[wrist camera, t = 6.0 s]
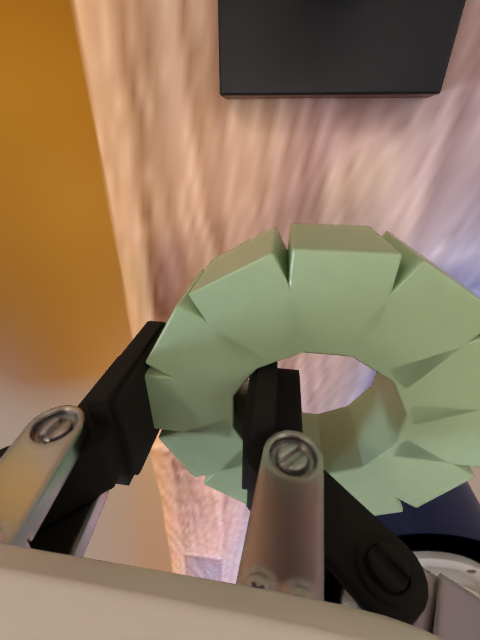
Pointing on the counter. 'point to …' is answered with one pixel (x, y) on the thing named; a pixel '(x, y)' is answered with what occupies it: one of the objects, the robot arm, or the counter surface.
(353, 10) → the post
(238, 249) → the ring
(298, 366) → the counter surface
